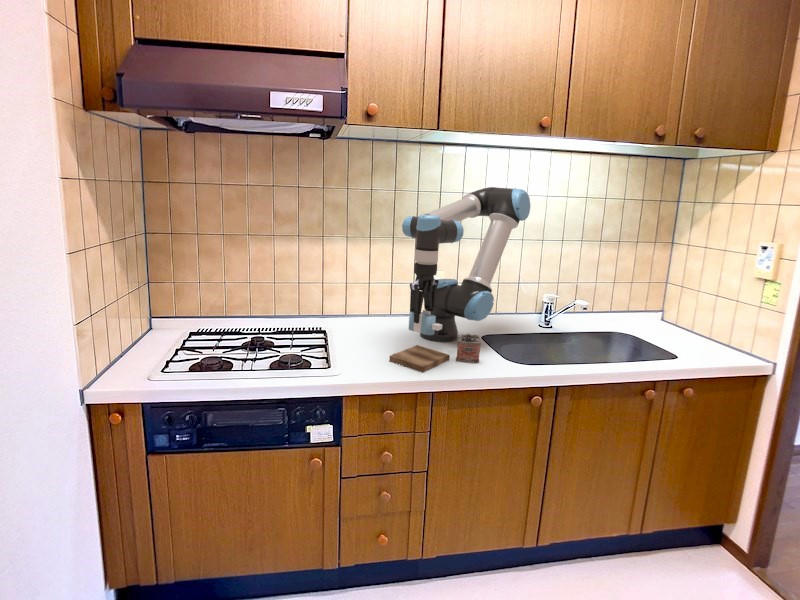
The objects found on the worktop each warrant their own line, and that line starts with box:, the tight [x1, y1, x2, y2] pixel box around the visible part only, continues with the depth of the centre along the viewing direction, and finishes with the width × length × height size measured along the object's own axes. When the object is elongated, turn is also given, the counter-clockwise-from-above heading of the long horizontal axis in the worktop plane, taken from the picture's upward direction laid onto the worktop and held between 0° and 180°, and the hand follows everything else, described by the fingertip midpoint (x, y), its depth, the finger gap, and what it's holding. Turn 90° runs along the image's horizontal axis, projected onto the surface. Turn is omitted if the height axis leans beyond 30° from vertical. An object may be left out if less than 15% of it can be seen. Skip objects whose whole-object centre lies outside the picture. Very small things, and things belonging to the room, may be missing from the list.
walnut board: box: [389, 344, 451, 373], centre depth 172 cm, size 16×14×2 cm
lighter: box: [455, 332, 482, 364], centre depth 173 cm, size 8×3×10 cm, turn 82°
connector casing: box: [408, 311, 442, 335], centre depth 168 cm, size 4×12×6 cm, turn 52°
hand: (421, 330), depth 169 cm, fingers closed on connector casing, 4 cm apart
